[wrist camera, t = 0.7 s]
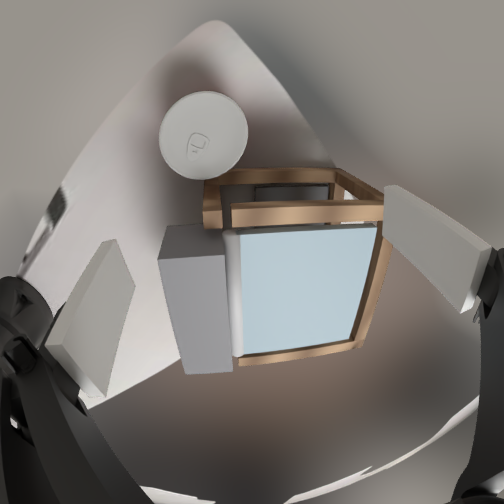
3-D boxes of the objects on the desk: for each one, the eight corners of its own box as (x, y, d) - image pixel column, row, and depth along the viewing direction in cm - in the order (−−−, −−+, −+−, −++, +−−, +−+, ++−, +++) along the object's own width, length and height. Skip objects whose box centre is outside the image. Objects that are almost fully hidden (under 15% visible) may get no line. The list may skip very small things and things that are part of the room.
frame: (214, 293, 43) (219, 368, 31) (205, 170, 34) (202, 211, 21) (325, 283, 45) (361, 346, 33) (340, 168, 36) (401, 205, 23)
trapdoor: (187, 336, 32) (186, 375, 27) (167, 223, 25) (156, 256, 20) (338, 319, 34) (356, 353, 29) (360, 213, 27) (391, 239, 22)
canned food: (170, 155, 32) (153, 176, 23) (179, 92, 29) (165, 85, 19) (231, 162, 34) (239, 186, 24) (242, 100, 30) (257, 97, 21)
